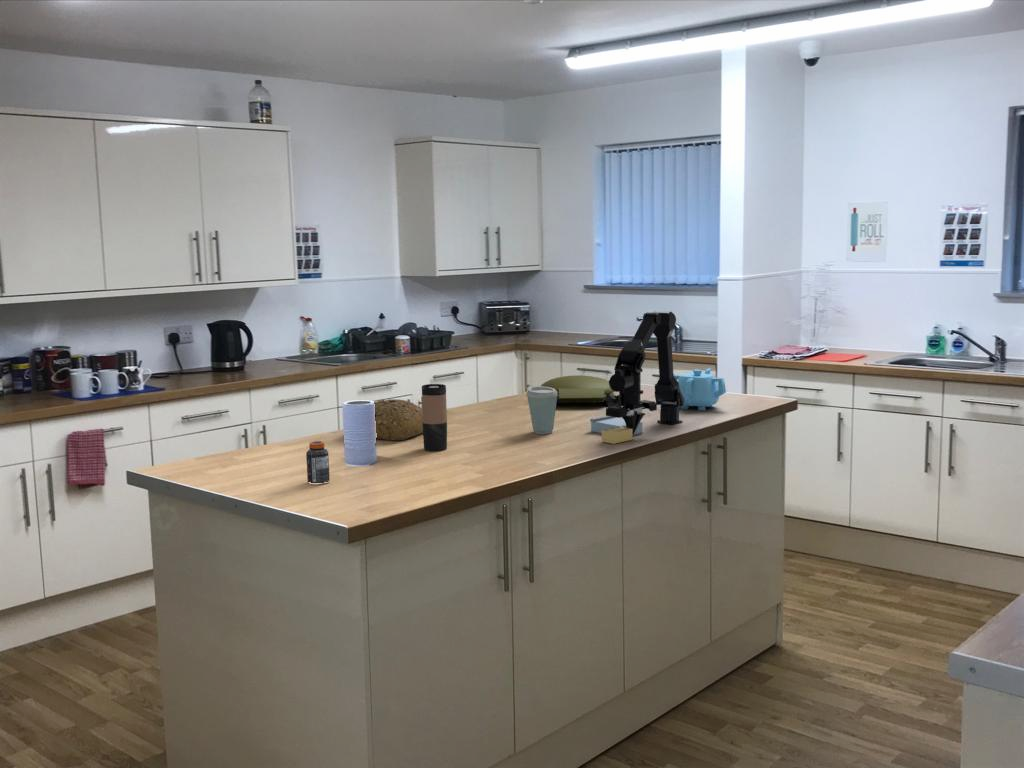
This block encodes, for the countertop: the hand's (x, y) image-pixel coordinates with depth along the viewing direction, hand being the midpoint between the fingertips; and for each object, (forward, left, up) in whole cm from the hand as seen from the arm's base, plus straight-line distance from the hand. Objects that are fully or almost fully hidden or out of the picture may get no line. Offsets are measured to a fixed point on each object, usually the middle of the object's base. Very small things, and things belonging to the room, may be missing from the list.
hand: (631, 434), depth 324 cm
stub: (+7, 0, -1) cm, 7 cm away
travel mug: (+55, -32, -1) cm, 64 cm away
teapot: (-60, -20, -1) cm, 63 cm away
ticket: (-4, -10, -1) cm, 11 cm away
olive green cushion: (-37, -61, -2) cm, 72 cm away
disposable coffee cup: (+14, -27, -1) cm, 31 cm away
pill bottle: (+103, -21, -1) cm, 105 cm away
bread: (+53, -61, -2) cm, 80 cm away
